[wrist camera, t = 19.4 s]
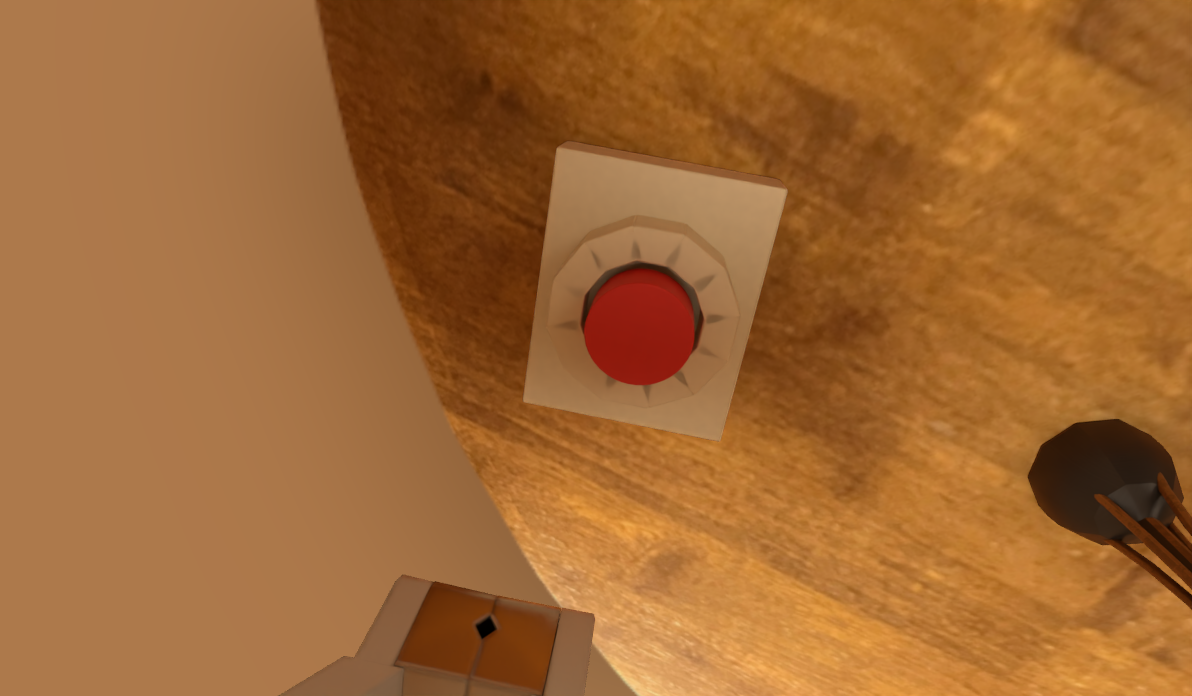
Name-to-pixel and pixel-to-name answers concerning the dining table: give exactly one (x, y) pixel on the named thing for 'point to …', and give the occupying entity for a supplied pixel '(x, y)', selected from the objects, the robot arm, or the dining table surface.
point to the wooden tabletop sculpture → (1117, 494)
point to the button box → (659, 242)
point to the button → (640, 327)
